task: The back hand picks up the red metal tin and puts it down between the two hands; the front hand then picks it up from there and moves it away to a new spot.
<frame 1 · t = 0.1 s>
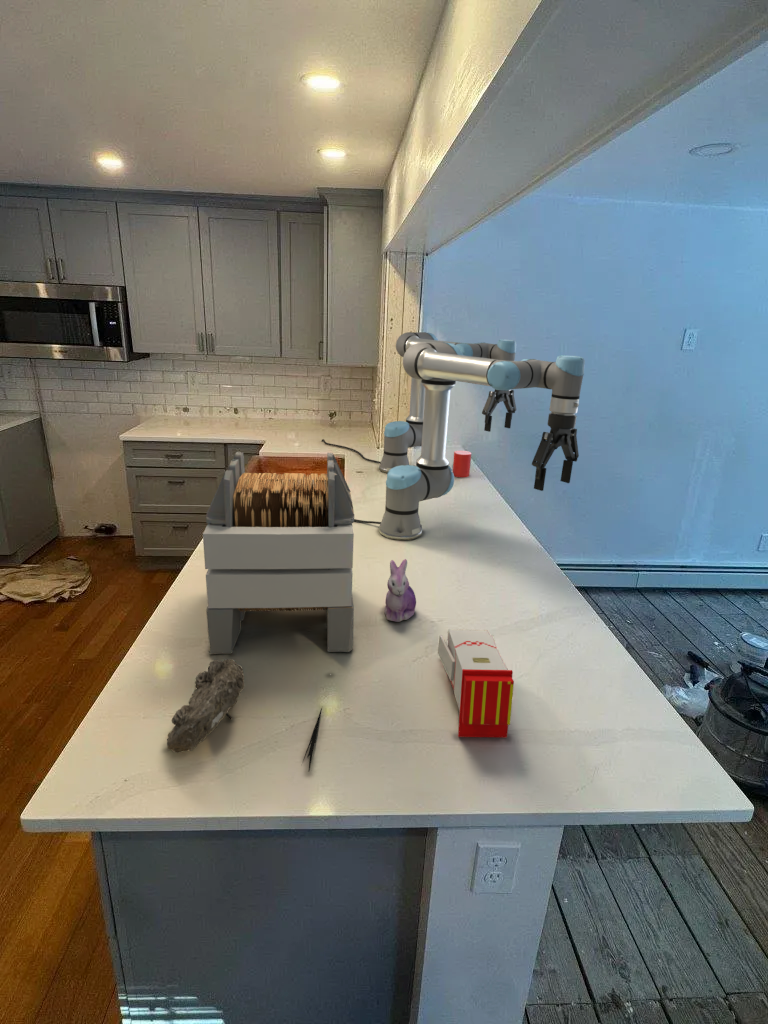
front hand: (552, 485, 166), 28 cm above the counter, tool pointing down, fingers open, 13 cm apart
back hand: (497, 429, 242), 28 cm above the counter, tool pointing down, fingers open, 13 cm apart
tin: (460, 475, 275), on the counter
toy: (469, 691, 119), on the counter
feather: (319, 719, 109), on the counter
record storage crate: (285, 616, 144), on the counter
figurine: (399, 614, 147), on the counter
fossil: (212, 717, 108), on the counter
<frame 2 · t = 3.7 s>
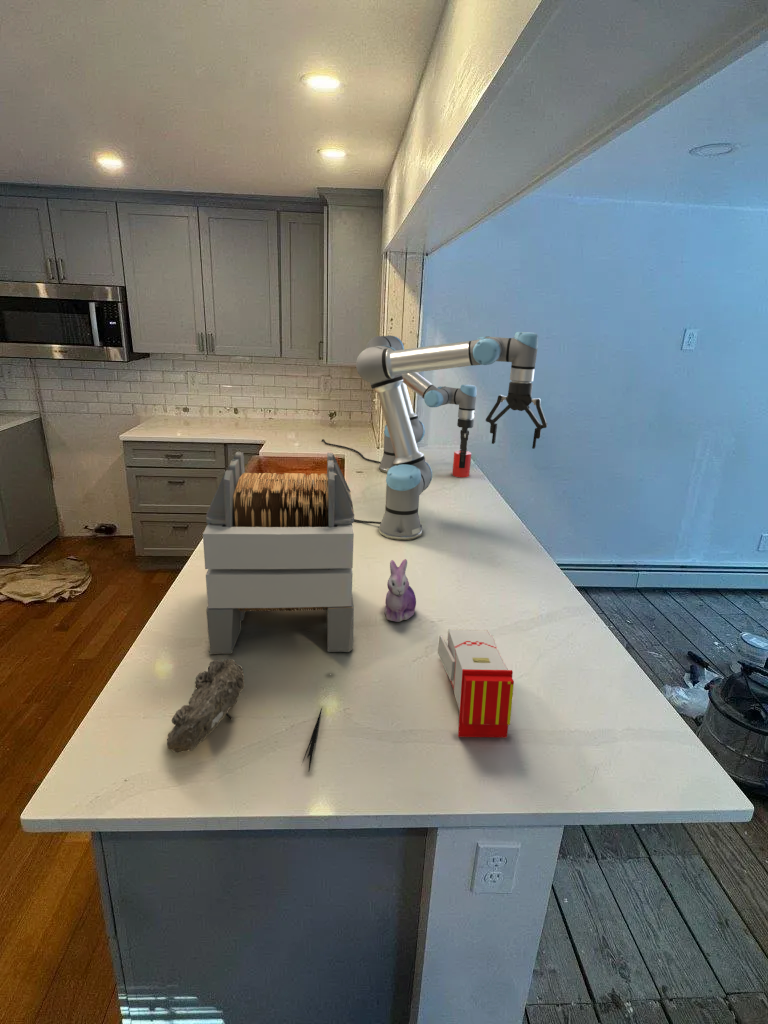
front hand: (513, 445, 192), 33 cm above the counter, tool pointing down, fingers open, 13 cm apart
back hand: (461, 465, 273), 5 cm above the counter, tool pointing down, fingers closed on tin, 8 cm apart
tin: (460, 475, 275), on the counter, touching back hand
everything else where it was.
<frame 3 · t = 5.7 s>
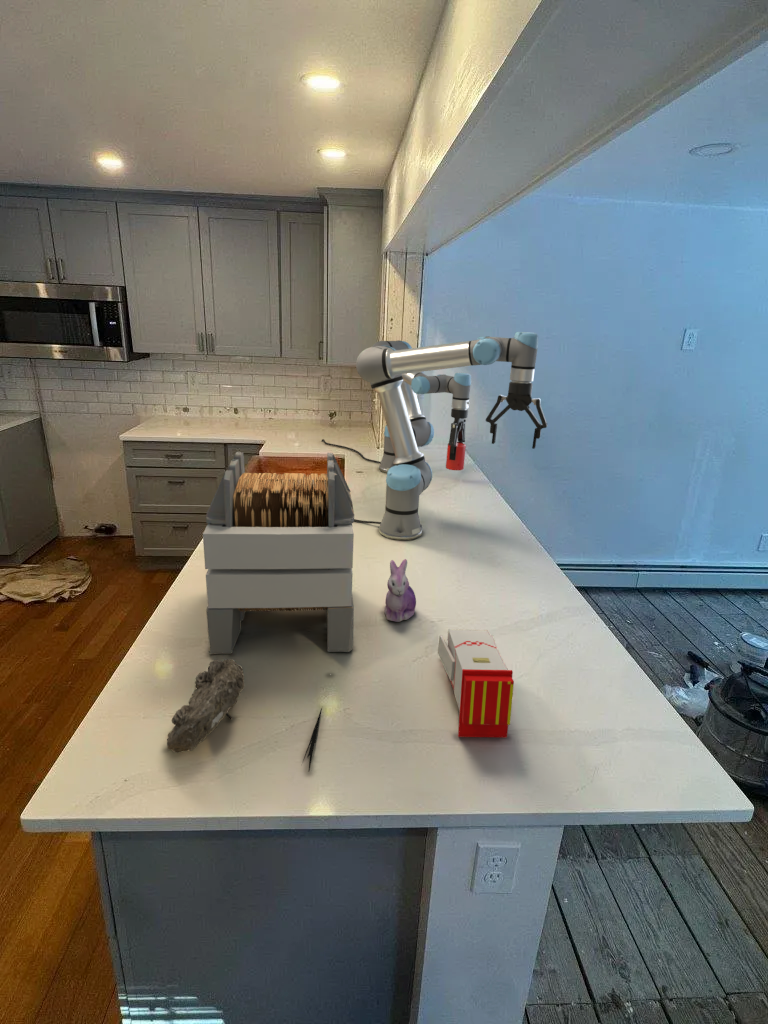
front hand: (513, 445, 192), 33 cm above the counter, tool pointing down, fingers open, 13 cm apart
back hand: (455, 457, 262), 11 cm above the counter, tool pointing down, fingers closed on tin, 8 cm apart
tin: (454, 468, 263), point 6 cm above the counter, touching back hand
everything else where it was.
when the back hand's fingers open (6 cm above the counter, at t = 8.1 s): tin drops 1 cm, on the counter.
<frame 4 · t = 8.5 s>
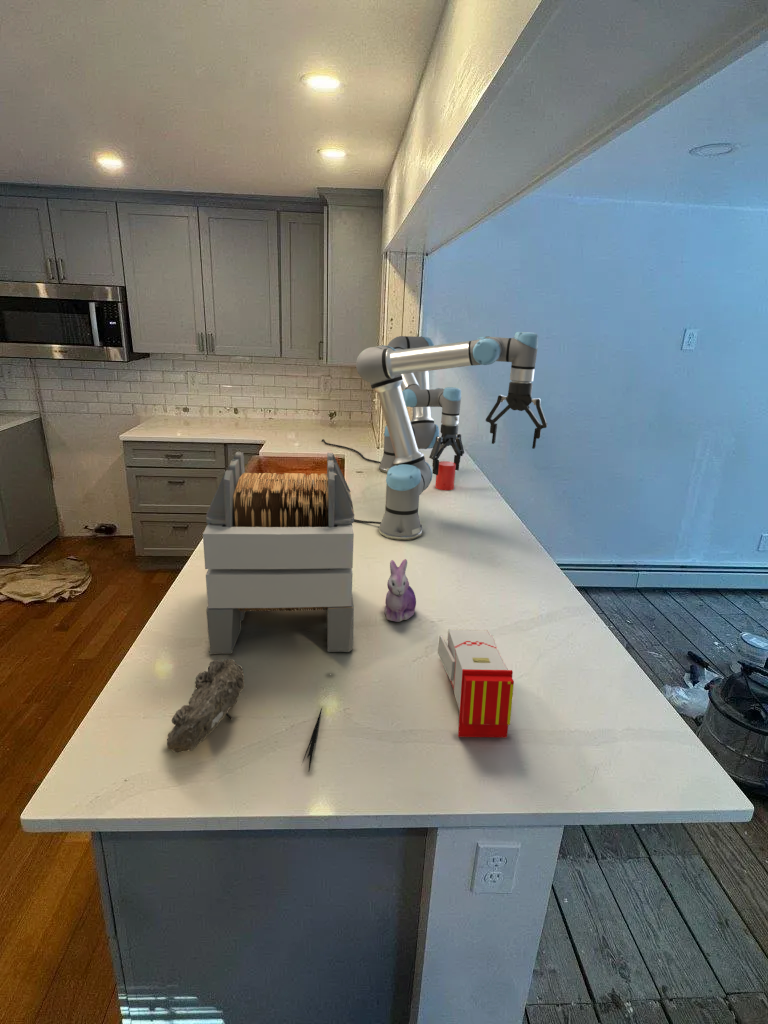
front hand: (513, 445, 192), 33 cm above the counter, tool pointing down, fingers open, 13 cm apart
back hand: (445, 472, 252), 7 cm above the counter, tool pointing down, fingers open, 13 cm apart
tin: (444, 487, 254), on the counter
everything else where it was.
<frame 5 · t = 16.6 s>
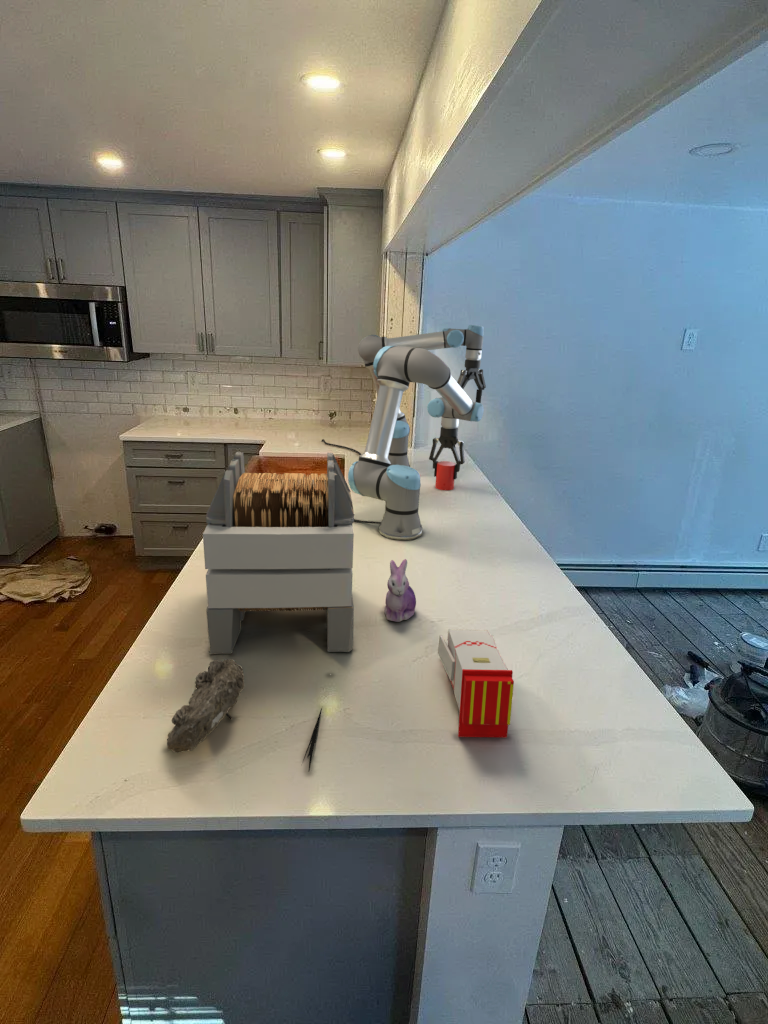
front hand: (445, 477, 253), 5 cm above the counter, tool pointing down, fingers closed on tin, 8 cm apart
back hand: (468, 404, 278), 32 cm above the counter, tool pointing down, fingers open, 13 cm apart
tin: (444, 487, 254), on the counter, touching front hand
everything else where it was.
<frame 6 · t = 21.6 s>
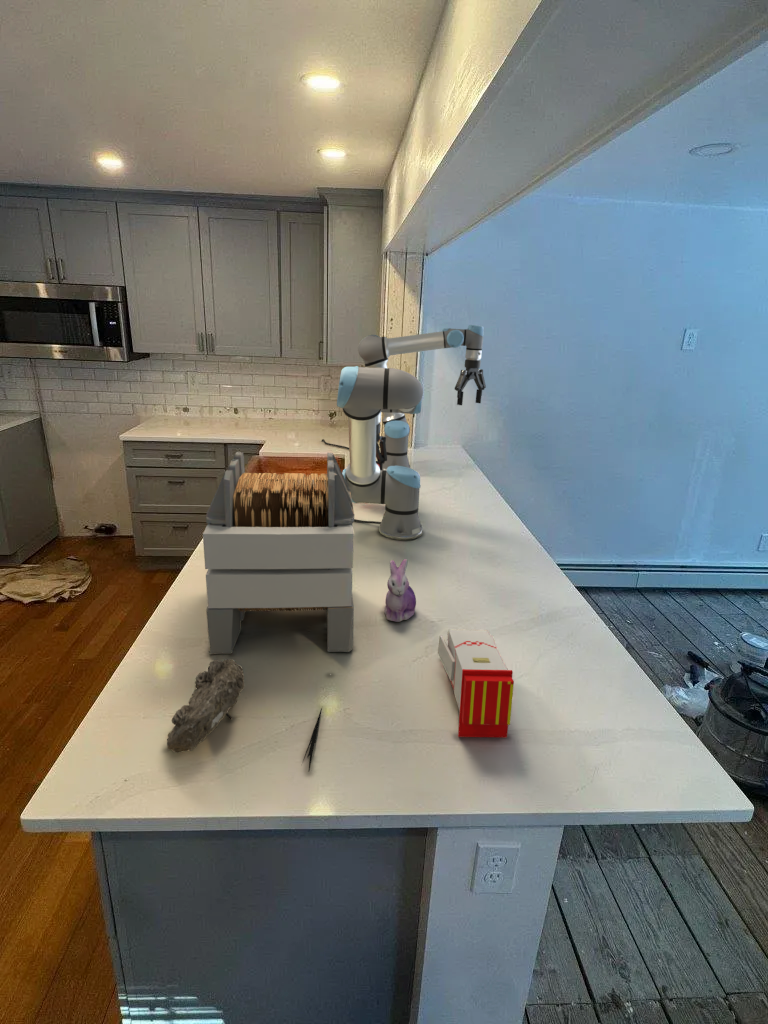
front hand: (368, 480, 222), 11 cm above the counter, tool pointing down, fingers closed on tin, 8 cm apart
back hand: (468, 404, 278), 32 cm above the counter, tool pointing down, fingers open, 13 cm apart
tin: (368, 492, 224), point 6 cm above the counter, touching front hand
everything else where it was.
when the front hand's fingers open (6 cm above the counter, at t = 27.0 s): tin drops 1 cm, on the counter.
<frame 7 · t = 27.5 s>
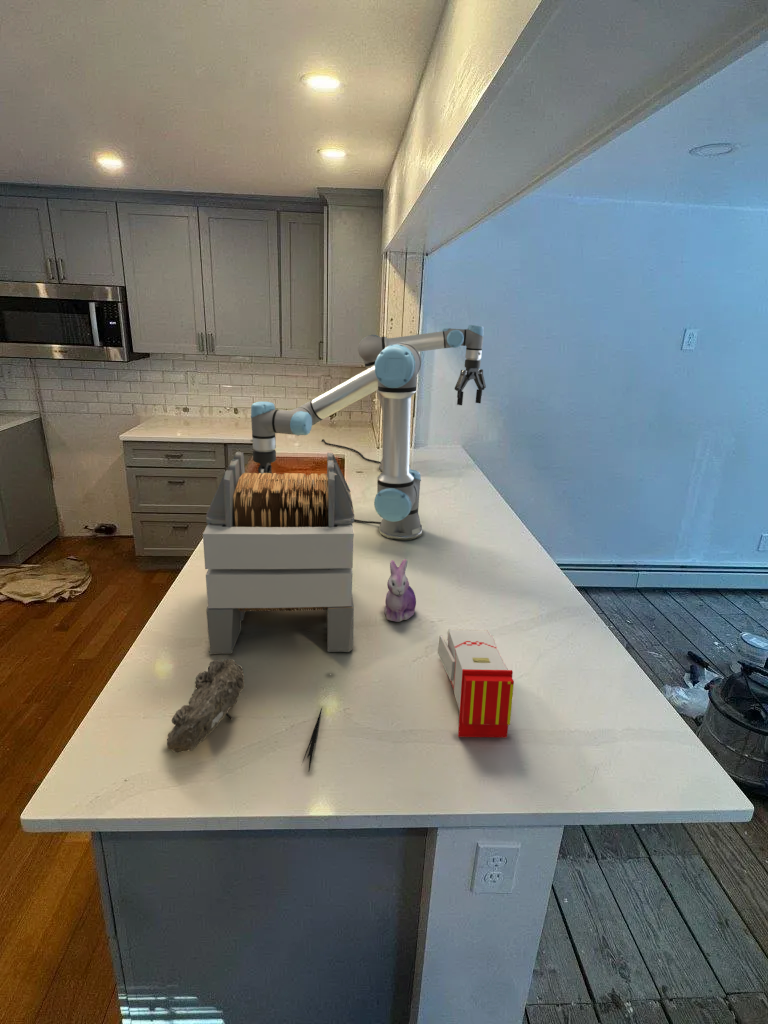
front hand: (266, 510, 195), 8 cm above the counter, tool pointing down, fingers open, 13 cm apart
back hand: (468, 404, 278), 32 cm above the counter, tool pointing down, fingers open, 13 cm apart
tin: (266, 530, 197), on the counter
everything else where it was.
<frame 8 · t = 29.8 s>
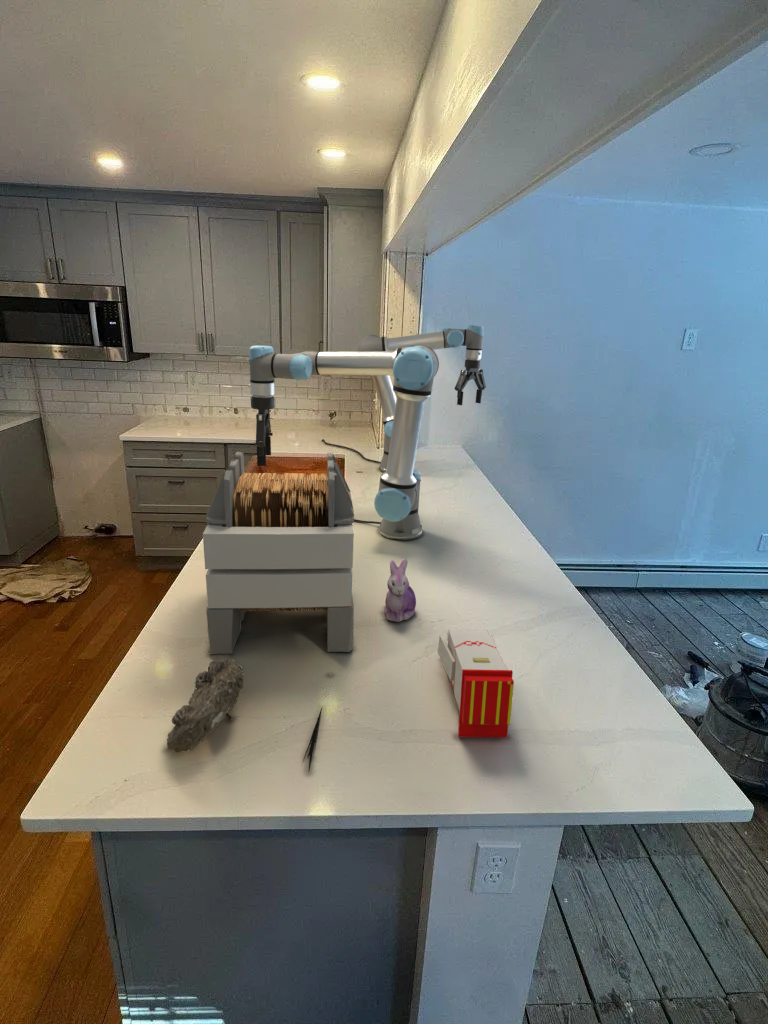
front hand: (264, 460, 189), 25 cm above the counter, tool pointing down, fingers open, 13 cm apart
back hand: (468, 404, 278), 32 cm above the counter, tool pointing down, fingers open, 13 cm apart
nothing on the counter moved.
at the end: tin inside the target area (0.1 cm from its centre), on the counter; tin tilted 0°; the two hands never held the tin at the same time; the front hand is holding nothing; the back hand is holding nothing; tin at rest at the end (0.0 cm/s) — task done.
